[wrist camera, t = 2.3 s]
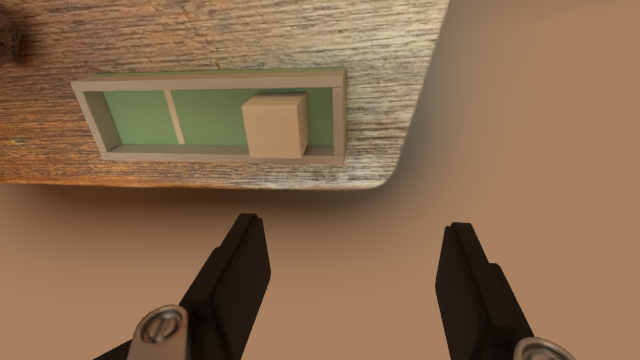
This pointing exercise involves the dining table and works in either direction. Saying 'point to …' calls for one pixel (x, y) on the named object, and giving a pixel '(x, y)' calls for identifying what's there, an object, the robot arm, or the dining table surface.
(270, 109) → the beige cube
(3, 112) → the dining table surface
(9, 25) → the perforated stone tool
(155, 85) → the tray
